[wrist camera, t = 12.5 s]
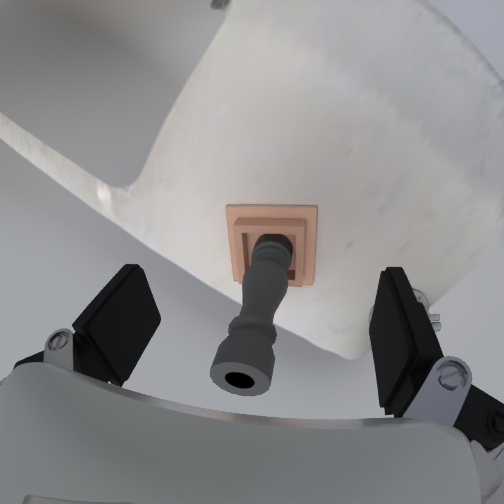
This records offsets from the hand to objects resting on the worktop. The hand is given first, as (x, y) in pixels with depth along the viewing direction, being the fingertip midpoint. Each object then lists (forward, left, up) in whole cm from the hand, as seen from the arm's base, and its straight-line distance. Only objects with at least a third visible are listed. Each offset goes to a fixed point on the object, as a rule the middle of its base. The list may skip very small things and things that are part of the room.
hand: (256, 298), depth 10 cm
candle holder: (+3, +15, -31) cm, 35 cm away
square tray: (+4, +15, -32) cm, 35 cm away
